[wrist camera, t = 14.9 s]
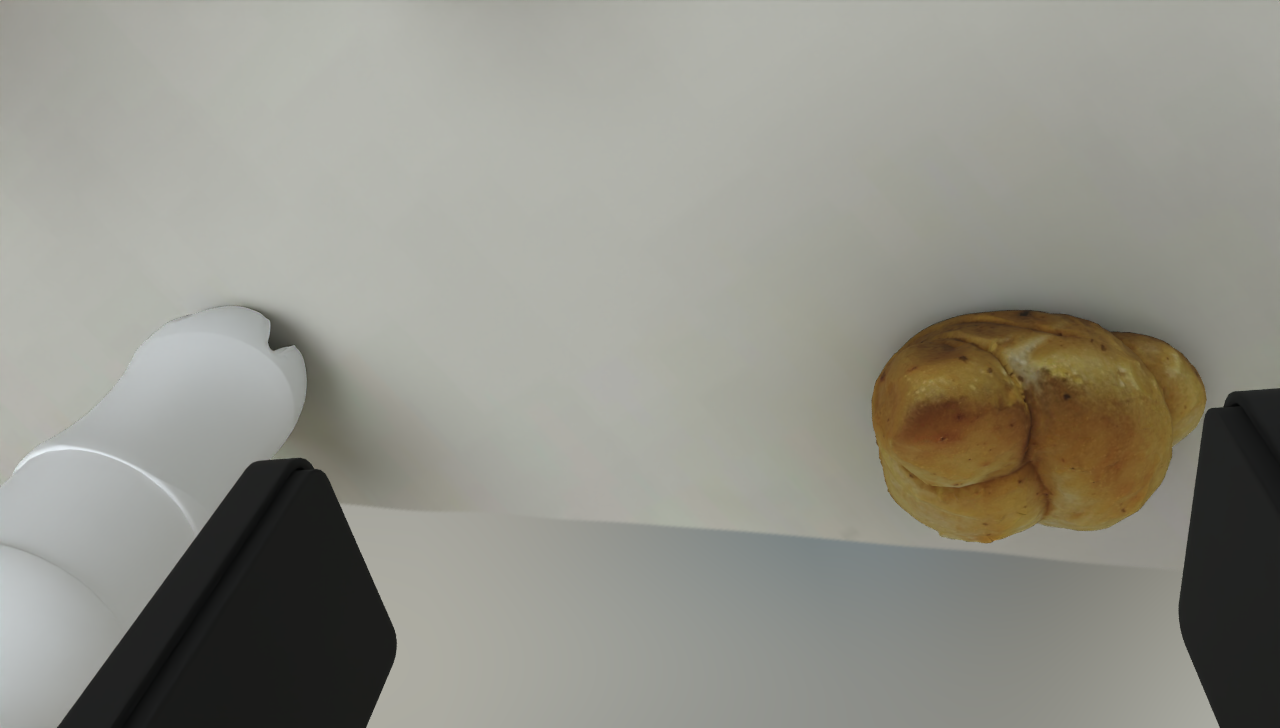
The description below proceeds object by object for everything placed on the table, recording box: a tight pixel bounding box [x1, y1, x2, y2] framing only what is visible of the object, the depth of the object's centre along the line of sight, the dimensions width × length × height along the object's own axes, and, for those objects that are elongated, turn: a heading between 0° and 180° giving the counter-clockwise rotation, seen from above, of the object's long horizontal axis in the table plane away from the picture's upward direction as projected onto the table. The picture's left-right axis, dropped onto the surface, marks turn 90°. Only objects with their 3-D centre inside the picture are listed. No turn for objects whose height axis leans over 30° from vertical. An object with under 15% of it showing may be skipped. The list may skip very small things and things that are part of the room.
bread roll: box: [872, 310, 1207, 543], centre depth 39 cm, size 13×10×8 cm
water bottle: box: [0, 306, 307, 728], centre depth 36 cm, size 7×7×25 cm
